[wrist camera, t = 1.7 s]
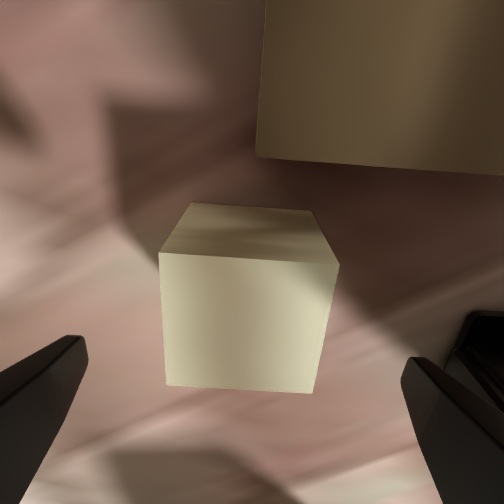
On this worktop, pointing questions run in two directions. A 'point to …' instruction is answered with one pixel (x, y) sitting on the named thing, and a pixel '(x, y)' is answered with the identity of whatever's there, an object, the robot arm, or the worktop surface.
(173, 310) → the maple cube
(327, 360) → the worktop surface
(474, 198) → the worktop surface
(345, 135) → the walnut block
